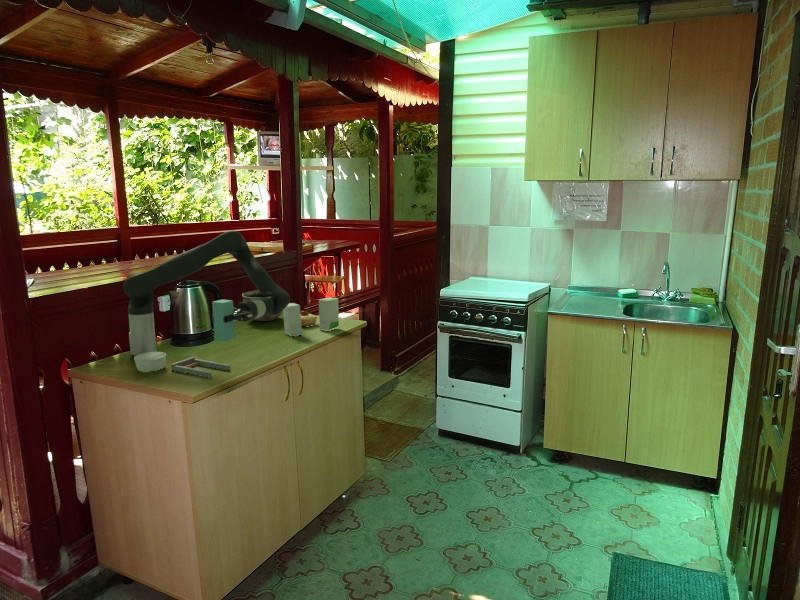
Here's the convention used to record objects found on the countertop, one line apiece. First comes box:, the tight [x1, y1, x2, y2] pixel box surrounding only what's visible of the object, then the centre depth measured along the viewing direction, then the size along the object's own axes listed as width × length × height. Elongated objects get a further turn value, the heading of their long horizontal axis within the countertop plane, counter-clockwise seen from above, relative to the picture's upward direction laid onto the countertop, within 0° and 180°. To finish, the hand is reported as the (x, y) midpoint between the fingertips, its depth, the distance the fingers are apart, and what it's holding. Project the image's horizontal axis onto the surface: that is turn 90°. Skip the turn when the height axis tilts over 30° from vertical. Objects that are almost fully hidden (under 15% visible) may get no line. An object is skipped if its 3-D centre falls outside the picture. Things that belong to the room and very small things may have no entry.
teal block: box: [211, 299, 236, 342], centre depth 189 cm, size 5×5×14 cm
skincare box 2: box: [318, 297, 340, 330], centre depth 260 cm, size 8×7×16 cm
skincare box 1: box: [282, 302, 303, 338], centre depth 250 cm, size 8×6×15 cm
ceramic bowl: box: [241, 289, 283, 322], centre depth 279 cm, size 22×22×15 cm
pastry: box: [300, 307, 318, 327], centre depth 269 cm, size 12×12×9 cm
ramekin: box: [133, 351, 167, 373], centre depth 200 cm, size 11×11×5 cm
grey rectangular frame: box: [170, 356, 231, 379], centre depth 199 cm, size 19×10×2 cm, turn 64°
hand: (218, 318), depth 187 cm, fingers closed on teal block, 5 cm apart
